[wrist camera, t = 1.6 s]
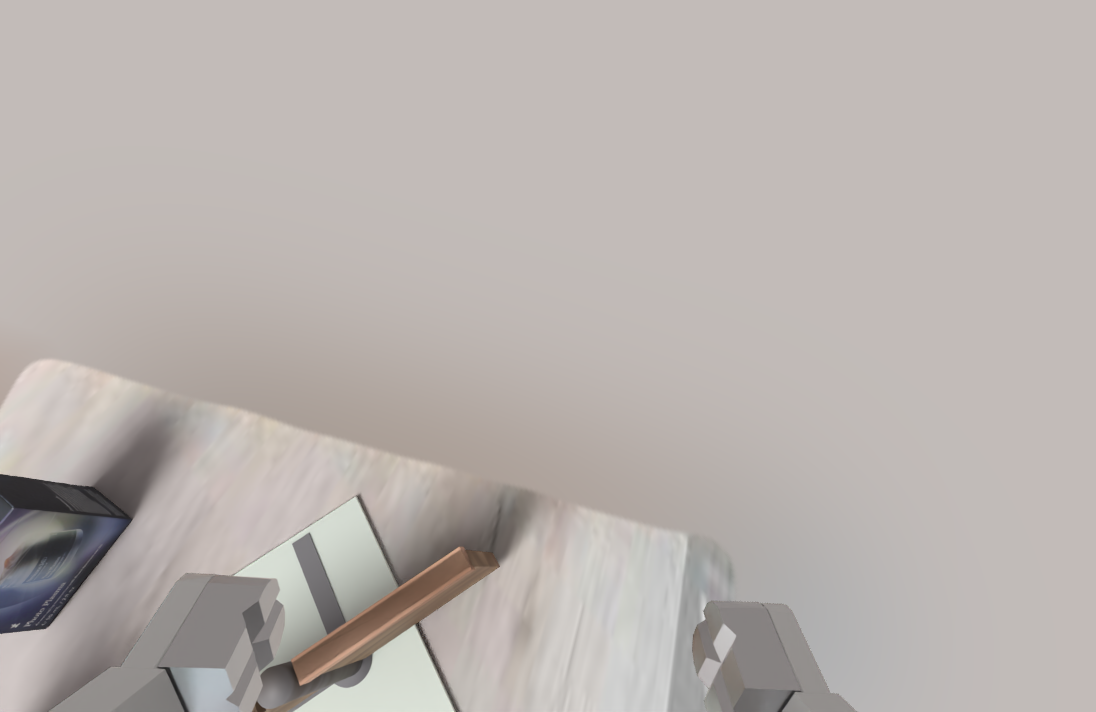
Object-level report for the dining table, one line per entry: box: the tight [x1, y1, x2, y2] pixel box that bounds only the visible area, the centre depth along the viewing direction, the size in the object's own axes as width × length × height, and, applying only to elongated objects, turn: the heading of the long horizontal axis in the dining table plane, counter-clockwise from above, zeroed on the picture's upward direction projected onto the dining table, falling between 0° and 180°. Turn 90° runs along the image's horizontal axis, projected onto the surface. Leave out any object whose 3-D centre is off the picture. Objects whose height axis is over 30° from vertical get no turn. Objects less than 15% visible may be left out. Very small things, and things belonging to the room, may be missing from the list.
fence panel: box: [291, 547, 500, 686], centre depth 36 cm, size 2×12×9 cm, turn 122°
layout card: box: [233, 497, 456, 712], centre depth 40 cm, size 23×19×1 cm
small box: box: [0, 474, 132, 634], centre depth 42 cm, size 11×6×10 cm, turn 150°
